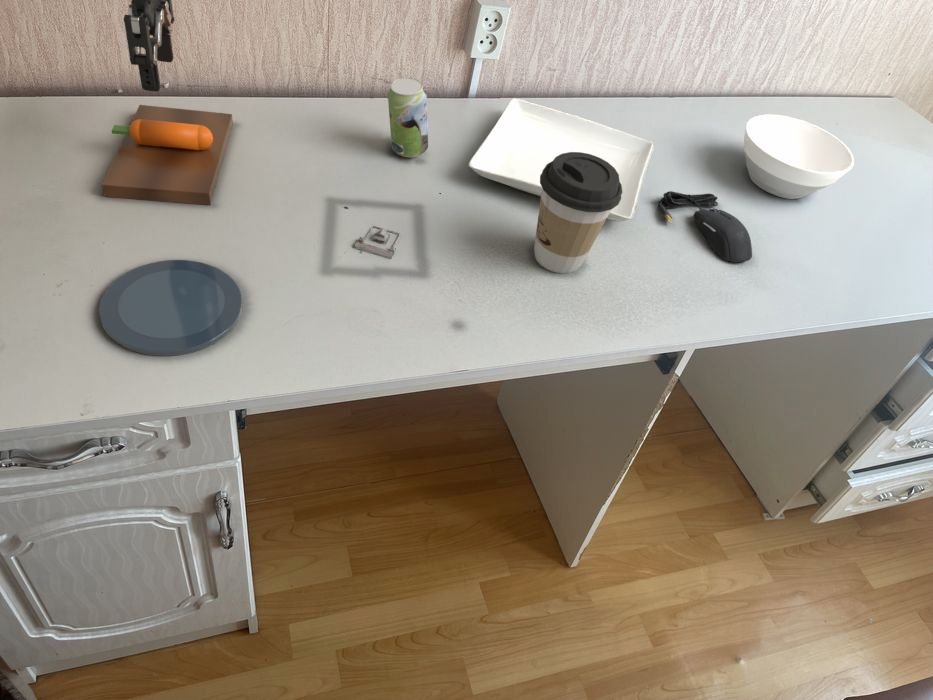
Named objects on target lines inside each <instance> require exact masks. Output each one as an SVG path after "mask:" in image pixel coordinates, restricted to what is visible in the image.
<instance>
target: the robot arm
mask: <svg viewBox="0 0 933 700" xmlns="http://www.w3.org/2000/svg"><path fill="white" fill-rule="evenodd" d="M123 22H124V28H125V29H124V30H125V34H126V42H127V49H128V55H129V62H130V64H131V65H134V66H138V72H139V78H140V84H141V88H142V89H143V91H146V92H159V91H160V89H161V87H162V86H161V80H160V73H159V66H158V62H163V63H172V62H173V60H174V51H173V42H172V33H173V26H172V25H173V24H174V23H175V16H174V9H173V2H172V0H130V4H128V14H124V16H123ZM151 36H152V37H151ZM142 49H144V51H145V53H142Z"/></svg>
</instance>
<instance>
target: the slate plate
mask: <svg viewBox="0 0 933 700" xmlns="http://www.w3.org/2000/svg"><path fill="white" fill-rule="evenodd" d="M242 312H243V296H242V293H241V289H240V288H239V286H238V284H237V282H236V281H234V279H233V278H232V277H231V276H230V275H229V274H227V273H226V272H225V271H224V270H221V269H219V268H218V267H216V266H213V265H210V264H208V263H204V262H201V261H196V260H188V259H187V260H186V259H168V260H159V261H154V262H149V263H147V264H146V263H145V264H143V265H141V266H138V267H135V268H133V269H131V270H129V271H126V272H125V273H124V274H122V275H120V276H119V277H118V278H116V279H115V280H114V281H112V283H110V285H109V286H107V289H105V291H104V292H103V294H102V296H101V299H100V302H99V308H98V315H99V319H100V322H101V325H102V328H103V331H104V332H105V333H106V335H108V336H109V338H110V339H112V341H114V342H115V343H116V344H118V345H119V346H121V347H123V348H125V349H127V350H130V351H132V352H135V353H138V354H143V355H148V356H155V357H157V356H158V357H173V356H181V355H186V354H190V353H195V352H198V351H201V350H203V349H207V348H208V347H210V346H212V345H214V344H216V343H218V342H219V341H221V340H222V339H223V338H225V337H226V336H227V335H229V334H230V332H231V331H232V330H234V329H235V327H236V326H237V324H238V322H239V321H240V318H241V315H242Z"/></svg>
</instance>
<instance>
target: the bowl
mask: <svg viewBox="0 0 933 700" xmlns="http://www.w3.org/2000/svg"><path fill="white" fill-rule="evenodd" d="M743 152H744V153H743V154H744V157H745V165H746V169H747V171H748V176H749V178H750V180H751V181H752V182H753V183H754V184H755V186H757V187H758V188H760V189H761V190H763V191H764V192H766V193H768V194H770V195H773V196H776V197H779V198H783V199H789V200H799V199H802V198H804V197H806V196H810V195H813V194H815V193H817V192H819V191H821V190H823V189H825V188H827V187H828V186H830V185H832V184H834V183H835V182H837V181H838V180H840V179H841V178H842V177H843V176H844V175H846V174H847V173H848V172H849V171H850V170H852V169H853V167H854V164H855V158H854V155H853V153H852V151H851V149H850V148H849V147H848V146H847V145H846V144H845V143H844V142H843V141H842V140H841V139H839V138H838V137H836V136H835V135H834V134H833V133H832V132H831V133H830V132H829V131H827V130H825V129H824V128H822V127H820V126H817V125H815V124H813V123H812V122H811V123H810V122H808V121H806V120H803V119H800V118H799V119H798V118H795V117H791V116H787V115H782V114H768V113H767V114H759V115H755V116H753V117H751V118H750V119H749V120H747V122H746V124H745V127H744V136H743Z"/></svg>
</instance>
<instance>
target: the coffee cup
mask: <svg viewBox="0 0 933 700" xmlns="http://www.w3.org/2000/svg"><path fill="white" fill-rule="evenodd" d="M540 184H541V186H542V193H541V197H540V201H539V207H538V208H539V209H538V216H537V223H536V229H535V230H536V231H535V238H534V245H533V252H534V258H535V260H536V262H537V263H538V265H540V266H541V267H542V268H543V269H545V270H547V271H550V272H552V273H555V274H570V273H574V272H576V271H577V270H578V269H579V268H580V266H582V265H583V263H584V261H585V260H586V257H587V256H588V254H589V252H590V250H591V249H592V246H593V245H594V243H595V242H596V239H597V237H598V235H599V234H600V232H601V230H602V229H603V226H604V224H605V223H606V220H607V219H608V218H607V217H608V215H609V213H610V211H611V209H613V208H614V207H616V206H617V205H618V204H619V202H620V200H621V195H622V185H621V183H620V181H619V174H618V173H617V171H616V169H615V168H614V167H613V166H612V165H610V164H609V163H608V162H606V161H605V160H603V159H601V158H599V157H597V156H594V155H591V154H587V153H582V152H568V153H563V154H560V155H558V156H557V157H555V158H554V160H553V161H552V162H550V163H548V164H547V165H546V166H545V168H544V169H543V171H542V174H541V175H540Z"/></svg>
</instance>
